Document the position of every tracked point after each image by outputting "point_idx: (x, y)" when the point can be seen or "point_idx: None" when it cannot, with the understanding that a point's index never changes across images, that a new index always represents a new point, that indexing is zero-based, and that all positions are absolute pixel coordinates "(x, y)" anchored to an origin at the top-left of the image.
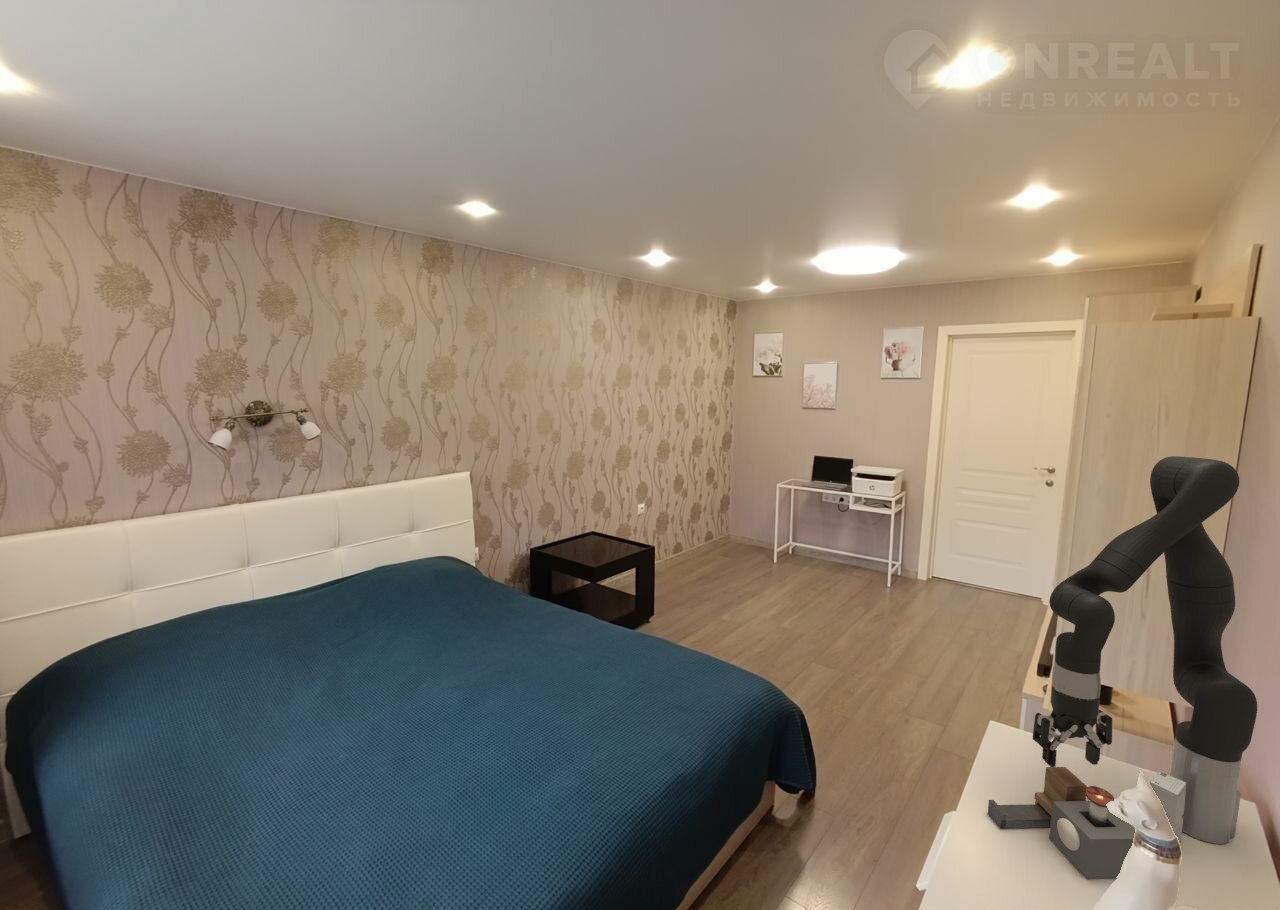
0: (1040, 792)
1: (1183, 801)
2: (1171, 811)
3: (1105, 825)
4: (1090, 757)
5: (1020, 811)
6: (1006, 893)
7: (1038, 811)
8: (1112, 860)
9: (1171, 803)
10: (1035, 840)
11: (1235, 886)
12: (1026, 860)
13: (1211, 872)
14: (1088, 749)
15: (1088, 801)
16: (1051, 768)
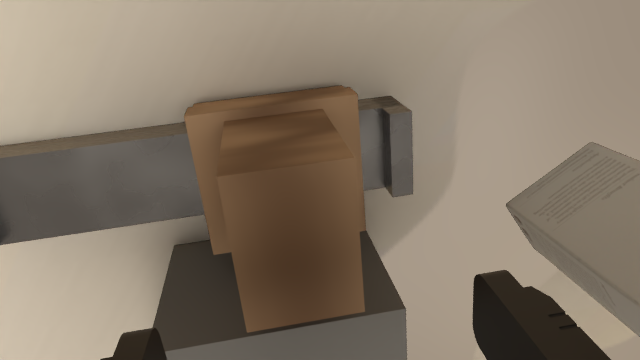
0: (211, 116)
1: None
2: (635, 330)
3: None
4: (494, 333)
5: (87, 186)
6: None
7: (170, 178)
8: None
9: None
10: (119, 259)
11: (589, 324)
12: (47, 343)
13: (576, 292)
14: (524, 356)
15: (330, 324)
16: (248, 185)
